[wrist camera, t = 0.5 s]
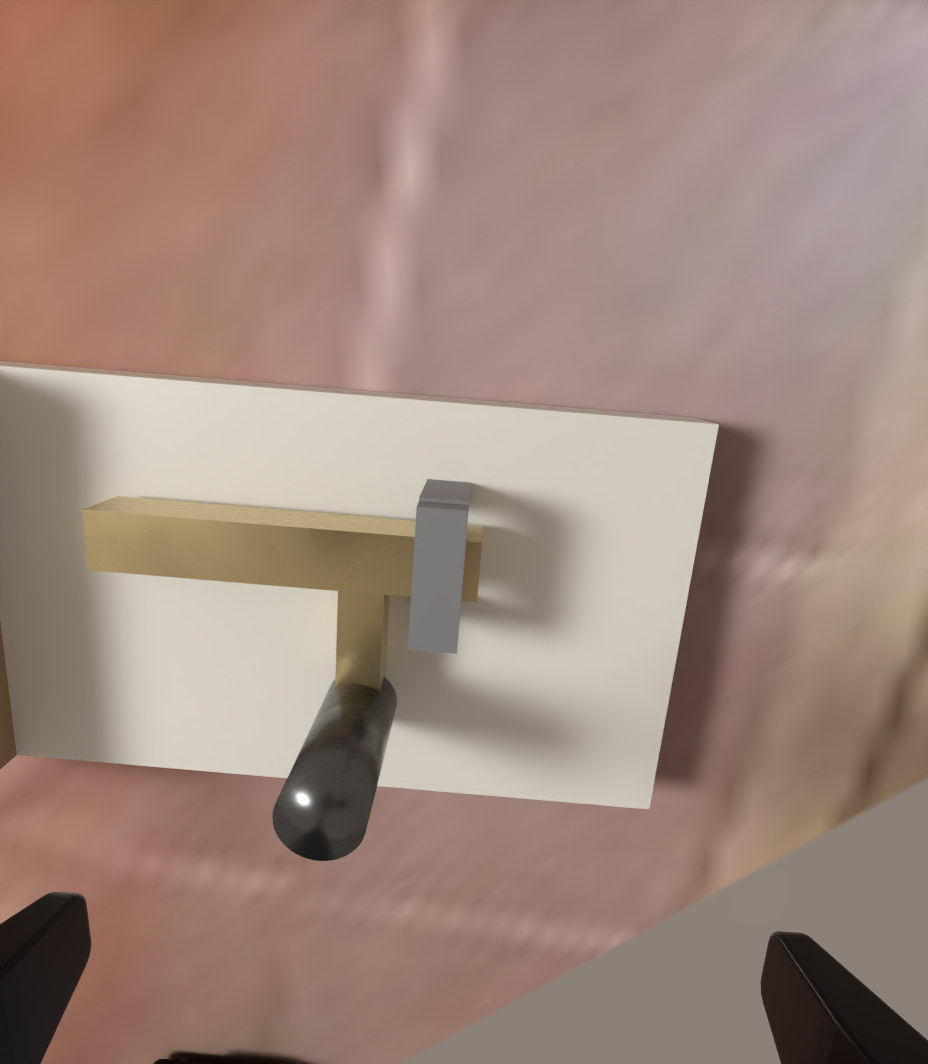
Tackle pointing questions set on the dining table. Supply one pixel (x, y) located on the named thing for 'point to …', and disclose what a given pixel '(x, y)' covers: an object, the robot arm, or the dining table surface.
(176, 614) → the door board
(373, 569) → the bolt
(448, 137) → the dining table surface
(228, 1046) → the dining table surface
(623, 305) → the dining table surface
